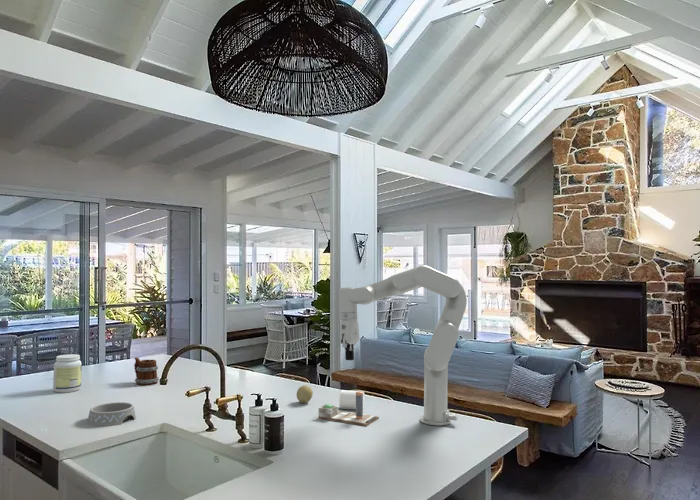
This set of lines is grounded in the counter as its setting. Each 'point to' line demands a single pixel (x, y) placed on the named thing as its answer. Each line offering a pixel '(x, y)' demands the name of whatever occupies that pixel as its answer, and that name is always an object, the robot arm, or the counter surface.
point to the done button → (328, 406)
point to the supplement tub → (67, 373)
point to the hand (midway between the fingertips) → (349, 359)
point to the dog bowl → (110, 414)
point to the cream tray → (344, 416)
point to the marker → (359, 405)
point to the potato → (304, 394)
